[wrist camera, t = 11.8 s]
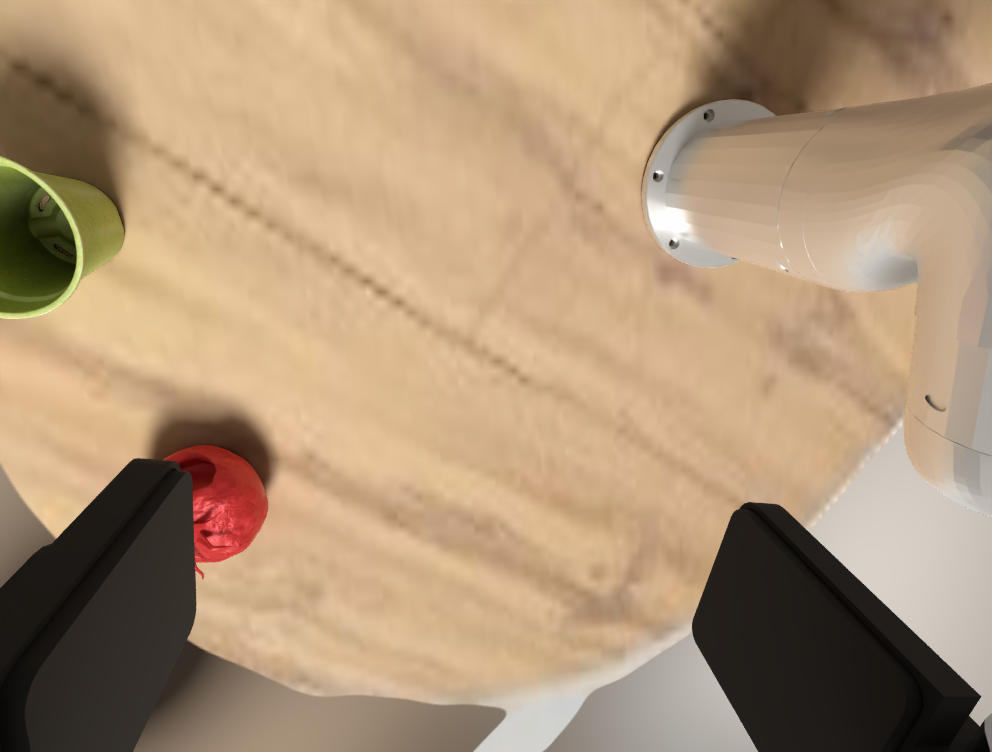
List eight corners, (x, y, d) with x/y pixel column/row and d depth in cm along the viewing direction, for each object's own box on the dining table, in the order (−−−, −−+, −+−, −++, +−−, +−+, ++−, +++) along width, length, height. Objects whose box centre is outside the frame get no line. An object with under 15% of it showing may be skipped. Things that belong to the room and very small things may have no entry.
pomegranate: (298, 492, 50) (277, 562, 41) (209, 547, 50) (169, 627, 42) (221, 411, 46) (180, 470, 37) (125, 472, 46) (63, 544, 38)
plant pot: (-19, 238, 39) (-133, 259, 31) (34, 121, 37) (-73, 111, 29) (116, 311, 42) (44, 347, 34) (172, 207, 40) (110, 218, 32)
